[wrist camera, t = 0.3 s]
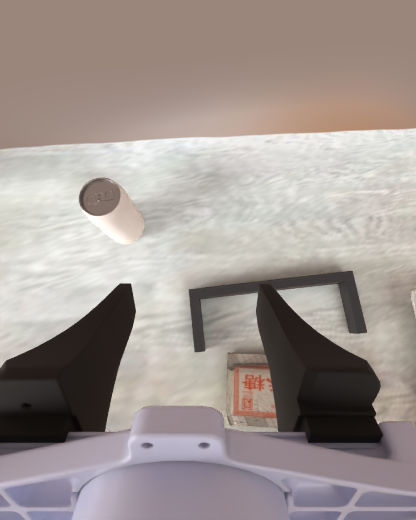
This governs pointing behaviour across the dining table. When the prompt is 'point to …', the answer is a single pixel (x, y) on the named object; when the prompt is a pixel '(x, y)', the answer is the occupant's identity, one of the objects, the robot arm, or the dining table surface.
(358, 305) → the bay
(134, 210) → the can
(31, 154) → the dining table surface
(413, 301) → the square plate
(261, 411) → the packaged product
